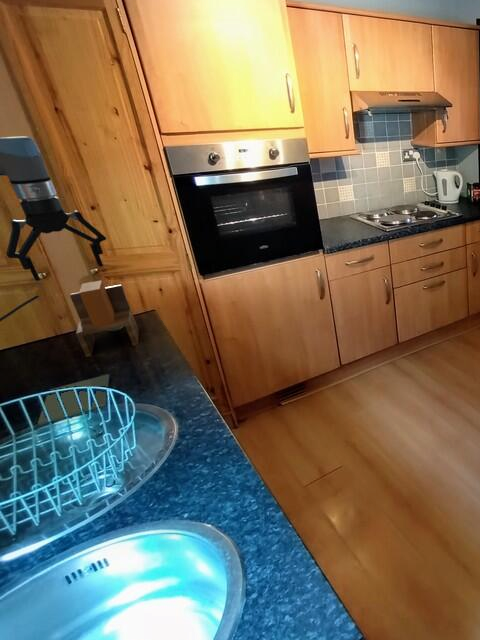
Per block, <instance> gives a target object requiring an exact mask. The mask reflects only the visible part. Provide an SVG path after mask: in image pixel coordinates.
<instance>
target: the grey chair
mask: <svg viewBox="0 0 480 640" xmlns="http://www.w3.org/2000/svg"><path fill="white" fill-rule="evenodd" d="M104 287H105V289H106V292H107V294H108V297H109V299H110V302H111V304H112V307H113V310H114V312H115V314H114V321H113V323H109V324H104V325H99V326H95V327H94V326H93V324H92V322H91V319H90V317H89V315H88V312H87V310H86V308H85V305H84V303H83V300H82V298H81V296H80V293H79V292H80V291H77V292H72V293H69V297H70V299H71V302H72V304H73V306H74V309H75V311H76V314H77V316H78V318H79V320H78V325H77V328H76V331H75V335H76V337H77V340H78V342H79V343H80V346H81V349H82V351H83V353H84V355H85V357H86V358H89V357H92V355H93V351H94V346H95V342H96V338H95V335H94V334H97V333H101V332H107V330H110V329H115V328H119V327H122V328H124V327H125V329H126V331H127V335H128V336H129V340H130V342H131V344H132V346H133V347H135V346H138V345H139V326H138V323H137V322H136V319H135V317H134V314H133V311H132V309H131V305H130V303H129V301H128V298H127V295H126V292H125V289H124V287H123V285H122V284H121V283H120V284H116V285H111V286H104Z"/></svg>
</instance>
